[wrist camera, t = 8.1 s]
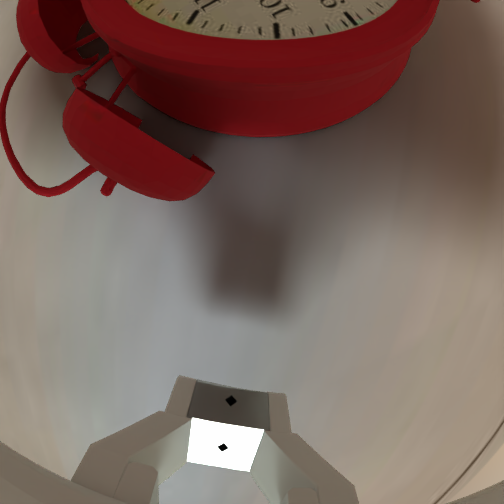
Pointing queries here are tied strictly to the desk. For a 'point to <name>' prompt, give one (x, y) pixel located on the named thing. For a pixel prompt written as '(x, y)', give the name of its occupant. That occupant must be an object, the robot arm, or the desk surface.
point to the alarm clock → (212, 74)
